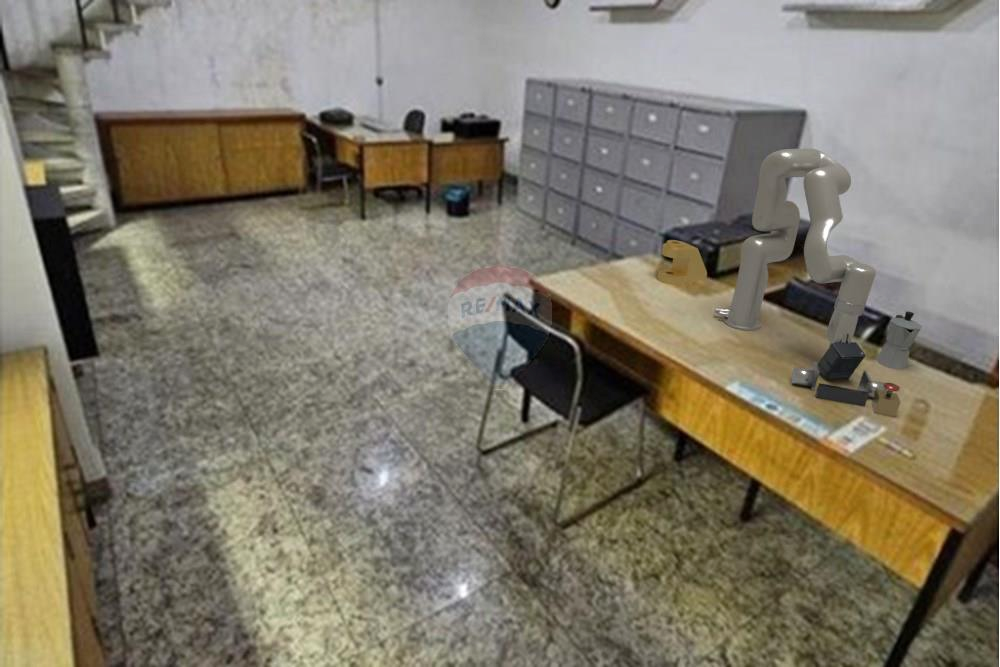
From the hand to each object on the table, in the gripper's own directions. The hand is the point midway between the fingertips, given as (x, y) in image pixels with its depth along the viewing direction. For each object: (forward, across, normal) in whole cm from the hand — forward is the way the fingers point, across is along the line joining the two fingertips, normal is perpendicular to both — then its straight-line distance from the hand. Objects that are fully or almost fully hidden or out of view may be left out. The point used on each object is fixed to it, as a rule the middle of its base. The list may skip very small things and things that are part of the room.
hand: (831, 361), depth 191 cm
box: (+2, +4, 0) cm, 4 cm away
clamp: (+3, -64, -46) cm, 79 cm away
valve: (+3, +21, +10) cm, 23 cm away
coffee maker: (+3, -13, +20) cm, 24 cm away
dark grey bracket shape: (+3, +13, 0) cm, 13 cm away
